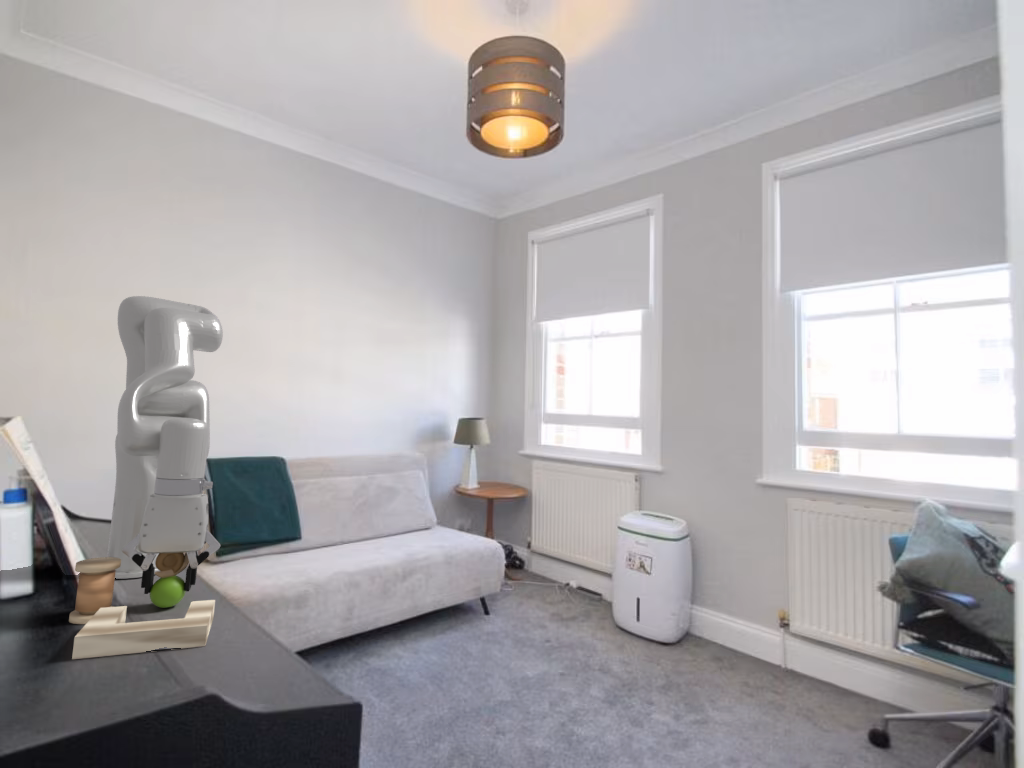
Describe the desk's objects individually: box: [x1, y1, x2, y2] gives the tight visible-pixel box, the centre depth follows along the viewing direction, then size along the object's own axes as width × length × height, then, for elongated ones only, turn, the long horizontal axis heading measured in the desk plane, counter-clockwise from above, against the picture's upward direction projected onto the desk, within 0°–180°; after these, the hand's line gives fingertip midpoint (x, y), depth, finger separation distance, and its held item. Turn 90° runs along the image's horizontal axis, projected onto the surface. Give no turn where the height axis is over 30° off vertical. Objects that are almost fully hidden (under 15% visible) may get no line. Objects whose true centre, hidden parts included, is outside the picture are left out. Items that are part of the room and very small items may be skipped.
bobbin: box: [68, 556, 121, 625], centre depth 88 cm, size 6×6×9 cm
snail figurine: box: [149, 552, 190, 609], centre depth 95 cm, size 5×6×12 cm
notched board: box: [71, 599, 216, 660], centre depth 82 cm, size 12×16×3 cm
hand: (168, 589), depth 94 cm, fingers closed on snail figurine, 5 cm apart
